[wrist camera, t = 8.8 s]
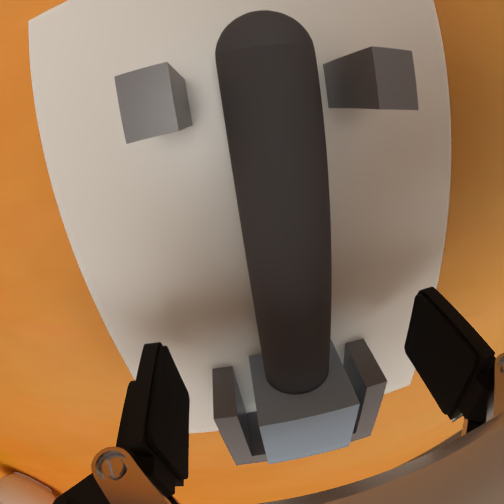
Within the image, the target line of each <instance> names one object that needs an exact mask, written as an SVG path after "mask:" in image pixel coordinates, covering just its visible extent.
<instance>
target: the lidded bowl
mask: <svg viewBox="0 0 504 504" xmlns="http://www.w3.org/2000/svg"><path fill="white" fill-rule="evenodd" d="M55 499H56V497H55V496H54V495H53V491H52V489H50V488H49V487H48V486H46V485H44V484H43V483H41V482H39V481H37V480H35V479H33V478H31V477H29V476H27V475H25V474H22V473H19V472H14V474H9V475H6V476H4V477H2V478H1V479H0V504H53V502H54V500H55Z"/></svg>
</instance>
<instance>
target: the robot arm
mask: <svg viewBox="0 0 504 504" xmlns="http://www.w3.org/2000/svg"><path fill="white" fill-rule="evenodd" d="M404 349H405V353H406V355H407V356H408V358H409V359H410V361H411V362H412V364H413V366H414V367H415V369H416V370H417V372H418V373H419V375H420V376H421V378H422V380H423V381H424V383H425V384H426V386H427V388H428V389H429V391H430V392H431V394H432V396H433V397H434V399H435V401H436V402H437V404H438V405H439V407H440V409H441V410H442V412H443V413H444V414H446V415H448V417H449V418H450V420H451V419H453V418H455V417H457V416H459V415H460V414H461V413H462V414H463V416H464V423H463V429H462V435H461V437H460V438H458V439H456V440H454V441H452V442H451V443H449V444H447V445H445V446H443V447H441V448H439V449H437V450H435V451H433V452H431V453H429V454H427V455H424V456H422V457H420V458H418V459H415V460H413V461H411V462H408V463H406V464H404V465H401V466H399V467H396V468H394V469H391V470H389V471H386V472H383V473H381V474H378V475H375V476H372V477H369V478H366V479H363V480H360V481H357V482H354V483H351V484H348V485H344V486H341V487H337V488H334V489H330V490H326V491H322V492H318V493H314V494H309V495H305V496H300V497H295V498H290V499H285V500H279V501H273V502H267V503H260V504H504V353H502V354H500V355H499V356H497V358H495V357H494V354H495V352H494V351H493V350H492V349H491V347H490V346H489V345H488V344H487V343H486V342H485V341H484V339H483V338H482V337H481V336H480V335H479V334H478V333H477V332H476V330H475V329H474V328H473V327H472V326H471V325H470V324H469V323H468V322H467V321H466V320H465V319H464V317H463V316H462V315H461V314H460V313H459V312H458V311H457V310H456V309H455V308H454V307H453V306H452V305H451V304H450V303H449V302H448V301H447V300H446V299H445V298H444V297H443V296H442V295H441V294H440V293H439V292H438V291H437V290H436V289H435V288H434V287H429V288H425V289H422V290H419V292H418V294H417V295H416V296H415V298H414V304H413V309H412V314H411V319H410V323H409V328H408V332H407V337H406V341H405V345H404ZM189 408H190V398H189V393H188V391H187V388H186V386H185V384H184V382H183V380H182V378H181V376H180V373H179V371H178V369H177V367H176V365H175V362H174V360H173V358H172V356H171V353H170V351H169V349H168V347H167V346H163V345H162V343H161V342H156V343H147V344H144V346H143V350H142V354H141V359H140V363H139V367H138V372H137V376H136V381H131V382H130V383H129V385H128V389H127V394H126V398H125V403H124V407H123V412H122V417H121V422H120V427H119V433H118V438H117V444H116V447H107V448H105V449H102V450H101V451H100V452H98V453H97V454H96V456H95V457H94V458H93V461H92V464H91V468H92V474H90V475H89V476H88V477H86V478H85V479H83V480H82V481H81V482H79V483H78V484H76V485H75V486H73V487H72V488H71V489H69V490H68V491H66V492H65V493H63V494H62V495H60V496H59V497H57V498H56V499H55V500H54V502H53V504H180V502H179V501H178V500H177V499H176V498H175V497H174V496H173V494H174V493H175V486H184V479H187V478H188V448H189Z"/></svg>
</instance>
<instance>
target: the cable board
mask: <svg viewBox="0 0 504 504" xmlns="http://www.w3.org/2000/svg"><path fill="white" fill-rule="evenodd" d="M260 10H270V11H275V12H280V13H283V14H285V15H288V16H290V17H292V18H294V19H295V20H296V21H297V22H299V23H300V24H301V25H302V26H303V27H304V28H305V29H306V31H307V32H308V33H309V35H310V37H311V39H312V41H313V44H314V48H315V54H316V61H317V68H318V75H319V83H320V90H321V99H322V108H323V117H324V127H325V138H326V150H327V163H328V178H329V195H330V218H331V261H332V294H331V336H330V340H332V342H333V345H334V347H335V349H336V351H337V353H338V356H339V358H340V360H341V362H342V364H343V367H344V369H345V371H346V373H347V376H348V378H349V380H350V382H351V385H352V387H353V389H354V391H355V394H356V396H357V398H358V400H359V403H360V405H359V409H358V414H357V418H356V422H355V426H354V429H353V433H352V437H351V441H350V442H352V441H355V440H358V439H362V438H365V437H368V436H370V435H371V432H372V429H373V426H374V423H375V420H376V417H377V414H378V411H379V408H380V405H381V401H382V398H383V395H384V394H386V393H389V392H392V391H395V390H397V389H400V388H403V387H406V386H408V385H410V383H411V380H412V377H413V374H414V371H415V367H414V366H413V364H412V362H411V361H410V359H409V358H408V356H407V355H406V353H405V349H404V345H405V341H406V337H407V332H408V328H409V323H410V319H411V314H412V309H413V304H414V298H415V296H416V295H417V294H418V292H419V290H422V289H425V288H429V287H434V288H435V289H436V290H437V285H438V280H439V275H440V269H441V263H442V257H443V251H444V244H445V237H446V229H447V220H448V210H449V198H450V183H451V113H450V98H449V86H448V77H447V69H446V61H445V54H444V48H443V42H442V37H441V31H440V26H439V22H438V17H437V13H436V8H435V4H434V0H68V1H66V2H64V3H62V4H60V5H58V6H56V7H54V8H52V9H50V10H48V11H46V12H44V13H42V14H40V15H38V16H37V17H35V18H33V19H31V20H29V54H30V68H31V78H32V87H33V95H34V102H35V109H36V115H37V121H38V127H39V132H40V137H41V142H42V147H43V152H44V156H45V160H46V164H47V169H48V173H49V176H50V180H51V184H52V188H53V191H54V195H55V198H56V202H57V205H58V208H59V211H60V214H61V218H62V221H63V224H64V227H65V230H66V233H67V235H68V238H69V241H70V244H71V247H72V249H73V252H74V255H75V257H76V260H77V262H78V265H79V267H80V270H81V272H82V275H83V277H84V280H85V282H86V284H87V287H88V289H89V291H90V294H91V296H92V298H93V300H94V303H95V305H96V307H97V309H98V311H99V313H100V315H101V317H102V320H103V322H104V324H105V326H106V328H107V330H108V332H109V334H110V336H111V338H112V339H113V341H114V343H115V345H116V347H117V349H118V351H119V353H120V355H121V356H122V358H123V360H124V362H125V364H126V365H127V367H128V369H129V371H130V372H131V374H132V376H133V377H134V379H135V381H136V376H137V372H138V367H139V363H140V359H141V354H142V350H143V346H144V344H147V343H156V342H161V343H162V345H163V346H167V347H168V349H169V351H170V353H171V356H172V358H173V360H174V362H175V365H176V367H177V369H178V371H179V373H180V376H181V378H182V380H183V382H184V384H185V386H186V388H187V391H188V393H189V398H190V408H189V433H200V432H211V431H219V432H220V434H221V436H222V438H223V440H224V442H225V444H226V446H227V448H228V450H229V452H230V454H231V456H232V458H233V460H234V462H235V464H236V465H242V464H250V463H257V462H264V461H268V460H267V456H266V452H265V448H264V444H263V440H262V437H261V433H260V429H259V423H258V417H257V410H256V404H255V397H254V390H253V383H252V377H251V370H250V363H249V356H251V355H257V354H262V352H261V346H260V340H259V334H258V328H257V322H256V316H255V310H254V304H253V298H252V292H251V285H250V279H249V273H248V267H247V261H246V254H245V248H244V242H243V236H242V229H241V223H240V217H239V211H238V204H237V198H236V192H235V185H234V179H233V172H232V166H231V159H230V153H229V147H228V140H227V134H226V127H225V120H224V114H223V107H222V101H221V94H220V88H219V81H218V74H217V68H216V61H215V50H216V45H217V42H218V39H219V37H220V35H221V33H222V31H223V30H224V29H225V27H226V26H227V25H228V24H230V23H231V22H232V21H233V20H234V19H236V18H238V17H240V16H242V15H244V14H246V13H249V12H253V11H260Z"/></svg>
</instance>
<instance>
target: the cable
mask: <svg viewBox="0 0 504 504" xmlns="http://www.w3.org/2000/svg"><path fill="white" fill-rule="evenodd" d="M215 61H216V68H217V74H218V81H219V88H220V94H221V101H222V107H223V114H224V120H225V127H226V134H227V140H228V147H229V153H230V159H231V166H232V172H233V179H234V185H235V192H236V198H237V204H238V211H239V217H240V223H241V229H242V236H243V242H244V248H245V254H246V261H247V267H248V273H249V279H250V285H251V292H252V298H253V304H254V310H255V316H256V322H257V328H258V334H259V340H260V346H261V352H262V354H257V355H251V356H249V363H250V370H251V377H252V383H253V390H254V397H255V404H256V410H257V417H258V423H259V429H260V433H261V437H262V440H263V444H264V448H265V452H266V456H267V460H268V464H272V463H278V462H283V461H288V460H294V459H298V458H303V457H308V456H312V455H316V454H321V453H325V452H328V451H332V450H336V449H340V448H343V447H347V446H349V444H350V441H351V437H352V433H353V429H354V426H355V422H356V418H357V414H358V409H359V405H360V403H359V400H358V398H357V396H356V394H355V391H354V389H353V387H352V385H351V382H350V380H349V378H348V376H347V373H346V371H345V369H344V367H343V364H342V362H341V360H340V358H339V356H338V353H337V351H336V349H335V347H334V345H333V342H332V340H330V336H331V294H332V261H331V218H330V195H329V178H328V163H327V150H326V138H325V127H324V117H323V108H322V99H321V90H320V83H319V75H318V68H317V61H316V54H315V48H314V44H313V41H312V39H311V37H310V35H309V33H308V32H307V31H306V29H305V28H304V27H303V26H302V25H301V24H300V23H299V22H297V21H296V20H295V19H294V18H292V17H290V16H288V15H285V14H283V13H280V12H275V11H270V10H260V11H253V12H249V13H246V14H244V15H242V16H240V17H238V18H236V19H234V20H233V21H232V22H231V23H230V24H228V25H227V26H226V27H225V29H224V30H223V31H222V33H221V35H220V37H219V39H218V42H217V45H216V50H215Z"/></svg>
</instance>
